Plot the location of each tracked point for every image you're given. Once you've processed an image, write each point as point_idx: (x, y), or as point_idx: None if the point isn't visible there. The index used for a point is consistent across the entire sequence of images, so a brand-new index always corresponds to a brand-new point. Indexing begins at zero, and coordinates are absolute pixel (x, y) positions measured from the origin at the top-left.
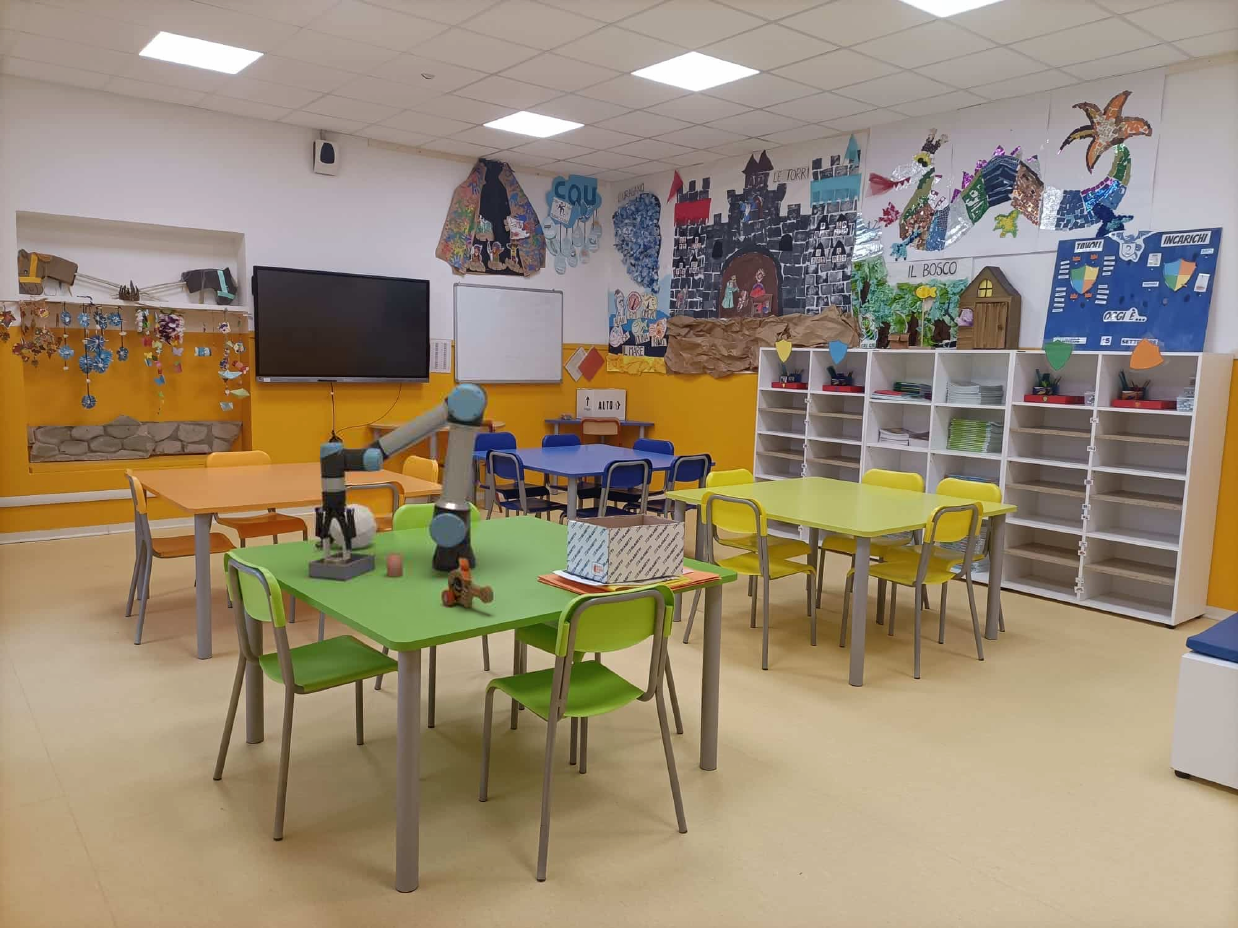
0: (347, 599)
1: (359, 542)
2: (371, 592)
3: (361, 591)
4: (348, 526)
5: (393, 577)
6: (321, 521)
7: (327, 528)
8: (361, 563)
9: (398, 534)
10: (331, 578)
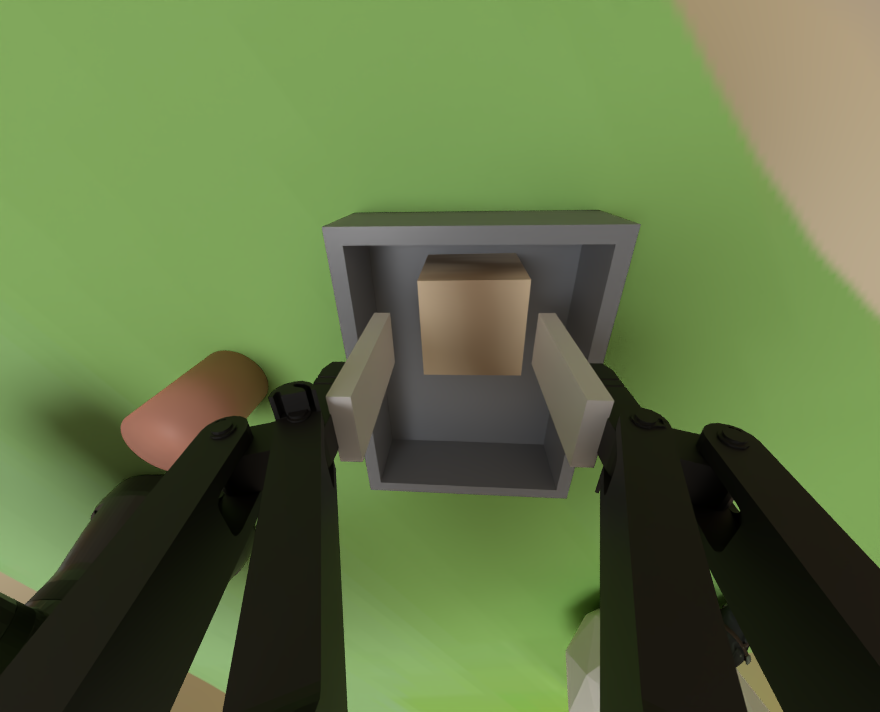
0: None
1: (593, 623)
2: (4, 14)
3: (73, 9)
4: (141, 569)
5: (213, 353)
6: (820, 703)
7: (612, 548)
8: None
9: (564, 692)
10: (440, 212)
